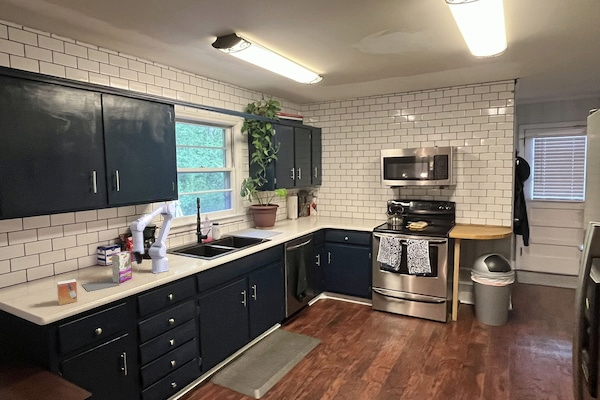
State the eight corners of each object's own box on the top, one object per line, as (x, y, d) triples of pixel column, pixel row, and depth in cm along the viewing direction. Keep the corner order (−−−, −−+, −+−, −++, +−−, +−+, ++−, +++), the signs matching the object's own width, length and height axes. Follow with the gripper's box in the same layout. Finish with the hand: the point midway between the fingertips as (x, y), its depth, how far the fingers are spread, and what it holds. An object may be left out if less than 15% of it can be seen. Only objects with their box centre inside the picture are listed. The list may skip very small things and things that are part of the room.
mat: (112, 279, 223) (112, 278, 223) (119, 285, 211) (119, 284, 211) (81, 284, 213) (81, 284, 213) (87, 291, 200) (87, 291, 200)
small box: (58, 305, 181) (57, 284, 180) (58, 302, 185) (56, 281, 184) (78, 302, 185) (76, 281, 184) (76, 298, 190) (75, 278, 189)
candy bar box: (124, 277, 225) (124, 250, 224) (132, 278, 224) (131, 251, 223) (112, 282, 214) (111, 254, 213) (119, 283, 213) (119, 254, 212)
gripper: (127, 240, 226) (128, 262, 228) (134, 244, 215) (136, 267, 216) (139, 239, 231) (140, 260, 232) (147, 242, 220) (148, 265, 221)
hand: (139, 263), depth 225 cm, fingers closed
